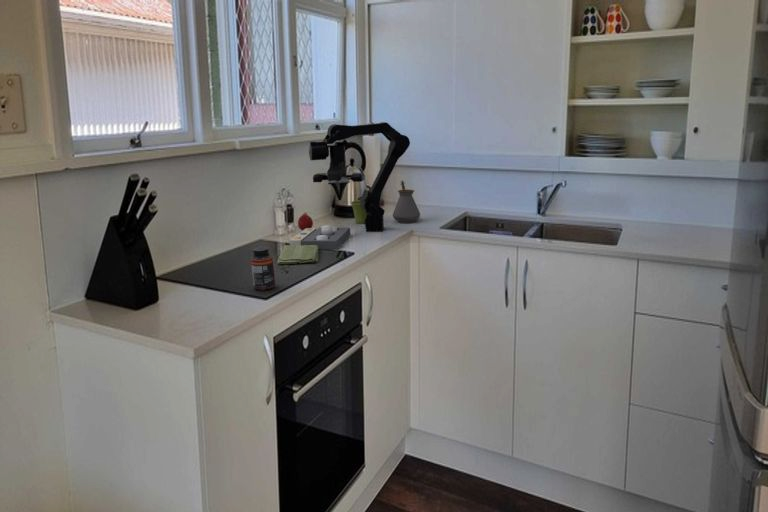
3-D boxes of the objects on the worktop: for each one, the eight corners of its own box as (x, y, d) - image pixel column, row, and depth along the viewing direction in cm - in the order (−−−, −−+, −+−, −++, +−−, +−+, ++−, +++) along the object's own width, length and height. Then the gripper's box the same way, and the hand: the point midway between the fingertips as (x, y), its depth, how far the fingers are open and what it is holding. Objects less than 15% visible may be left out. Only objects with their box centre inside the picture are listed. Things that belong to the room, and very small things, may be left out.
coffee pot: (421, 223, 244) (421, 186, 240) (393, 224, 243) (392, 188, 239) (416, 213, 264) (415, 179, 261) (390, 214, 264) (389, 181, 260)
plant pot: (373, 224, 245) (373, 203, 243) (350, 225, 246) (349, 204, 243) (374, 219, 254) (373, 199, 252) (352, 220, 255) (351, 200, 252)
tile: (316, 235, 228) (316, 227, 228) (301, 248, 209) (300, 239, 209) (306, 235, 229) (305, 227, 228) (290, 248, 210) (289, 239, 209)
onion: (310, 234, 232) (309, 213, 230) (296, 234, 233) (295, 213, 231) (315, 230, 237) (313, 211, 235) (301, 230, 238) (300, 211, 236)
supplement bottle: (264, 283, 171) (261, 244, 168) (279, 286, 168) (276, 247, 165) (249, 289, 166) (245, 249, 163) (264, 292, 163) (260, 252, 160)
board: (350, 235, 227) (350, 227, 226) (336, 249, 206) (336, 241, 205) (319, 235, 229) (319, 227, 228) (302, 249, 208) (302, 241, 207)
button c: (329, 244, 213) (328, 234, 212) (326, 247, 209) (326, 237, 208) (318, 244, 213) (318, 234, 212) (315, 247, 209) (314, 237, 208)
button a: (338, 236, 226) (338, 226, 225) (336, 238, 222) (335, 228, 221) (328, 235, 227) (328, 226, 226) (325, 238, 223) (325, 228, 222)
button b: (334, 234, 219) (333, 225, 218) (331, 237, 215) (330, 227, 214) (323, 234, 219) (322, 225, 218) (320, 237, 216) (319, 227, 215)
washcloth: (276, 267, 189) (275, 257, 188) (283, 253, 206) (282, 244, 205) (317, 265, 190) (317, 255, 189) (321, 251, 207) (320, 242, 206)
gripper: (307, 161, 217) (310, 204, 221) (357, 160, 214) (359, 203, 218) (315, 158, 228) (318, 199, 232) (363, 157, 225) (365, 198, 229)
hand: (340, 200), depth 227 cm, fingers closed
